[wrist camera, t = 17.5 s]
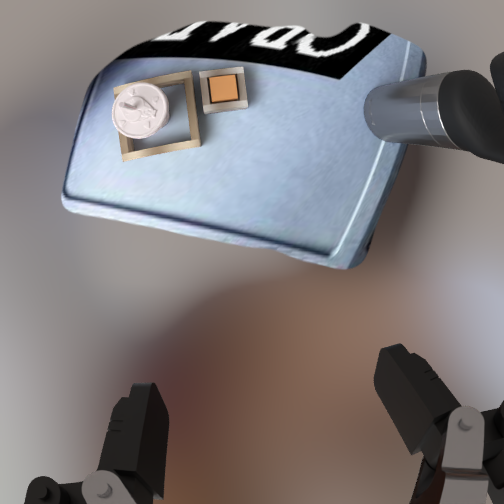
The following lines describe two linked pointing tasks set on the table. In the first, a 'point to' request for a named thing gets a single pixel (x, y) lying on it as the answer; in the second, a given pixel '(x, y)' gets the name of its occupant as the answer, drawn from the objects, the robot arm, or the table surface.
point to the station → (208, 107)
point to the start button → (223, 89)
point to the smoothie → (140, 110)
